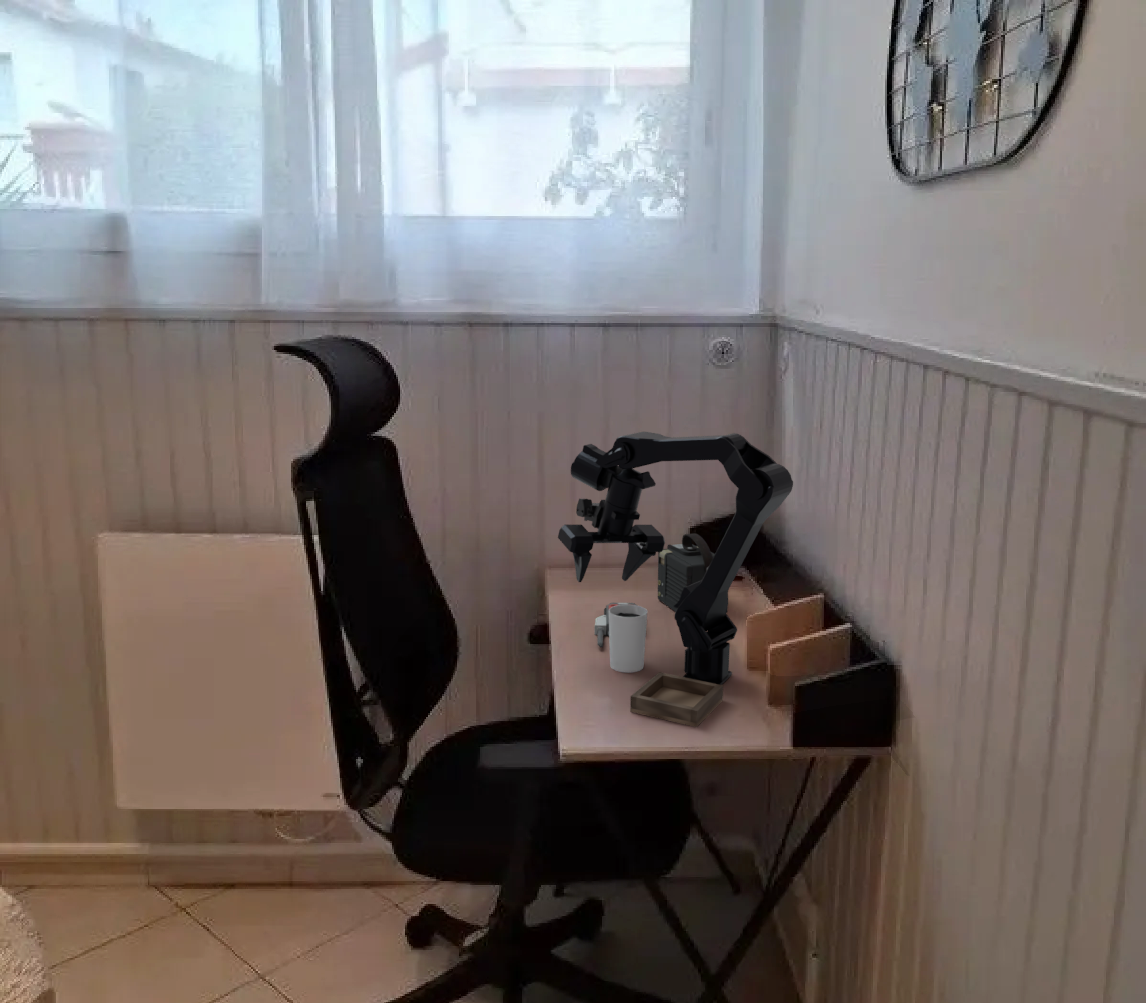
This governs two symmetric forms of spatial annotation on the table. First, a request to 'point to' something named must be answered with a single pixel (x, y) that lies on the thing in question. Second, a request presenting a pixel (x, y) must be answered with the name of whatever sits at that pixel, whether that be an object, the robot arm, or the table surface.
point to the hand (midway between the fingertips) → (601, 580)
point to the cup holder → (677, 699)
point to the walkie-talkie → (605, 623)
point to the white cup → (627, 637)
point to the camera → (682, 567)
